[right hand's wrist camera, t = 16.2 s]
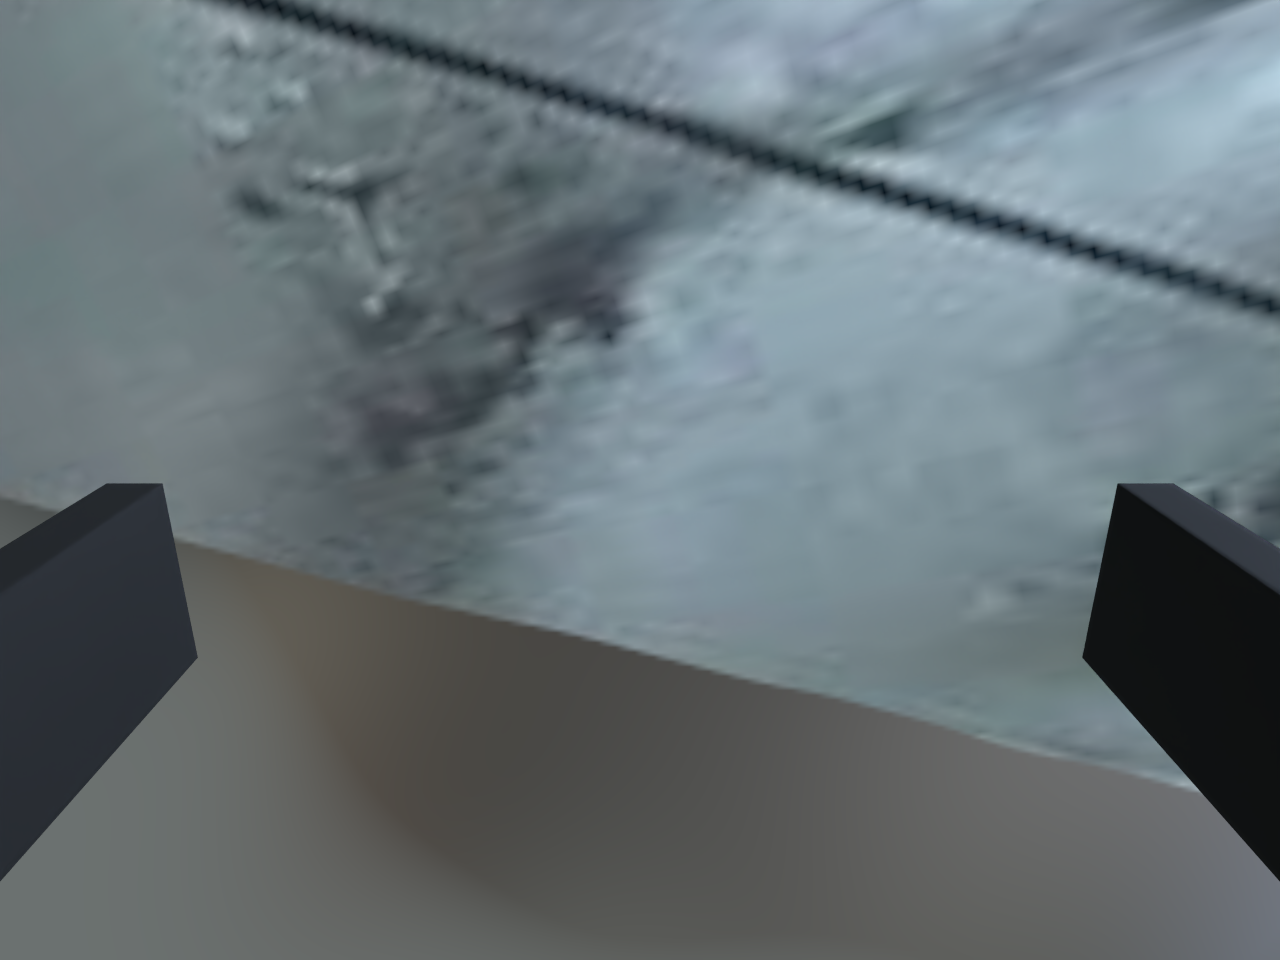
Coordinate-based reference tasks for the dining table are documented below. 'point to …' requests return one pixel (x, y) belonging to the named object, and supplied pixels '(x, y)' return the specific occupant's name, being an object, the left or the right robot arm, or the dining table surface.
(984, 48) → the dining table surface
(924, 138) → the dining table surface
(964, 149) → the dining table surface
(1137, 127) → the dining table surface
